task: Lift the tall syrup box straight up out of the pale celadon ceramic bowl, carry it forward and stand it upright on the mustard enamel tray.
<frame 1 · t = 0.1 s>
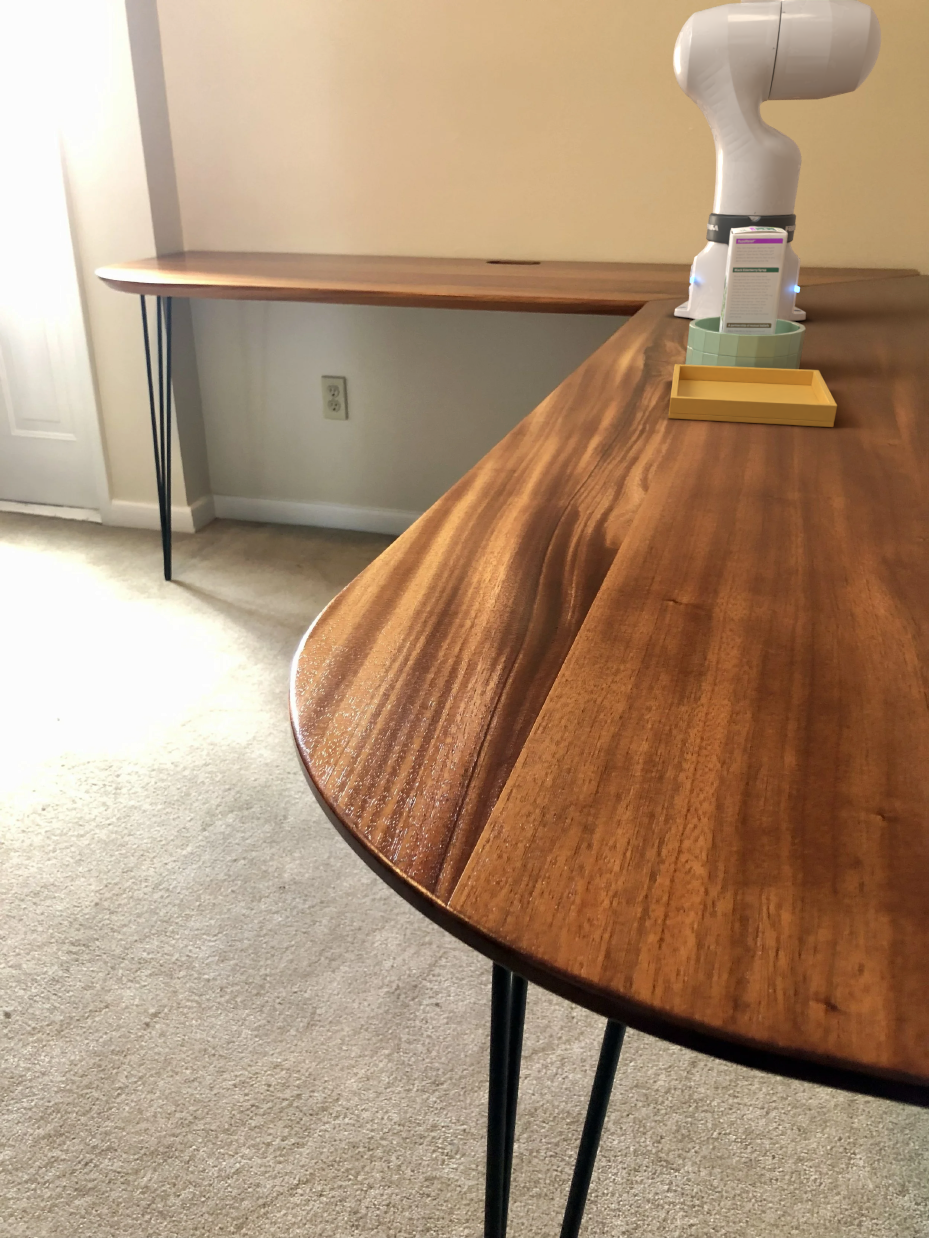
bowl: (740, 370, 101), on the table
tray: (745, 403, 88), on the table
syrup box: (740, 368, 101), resting on bowl
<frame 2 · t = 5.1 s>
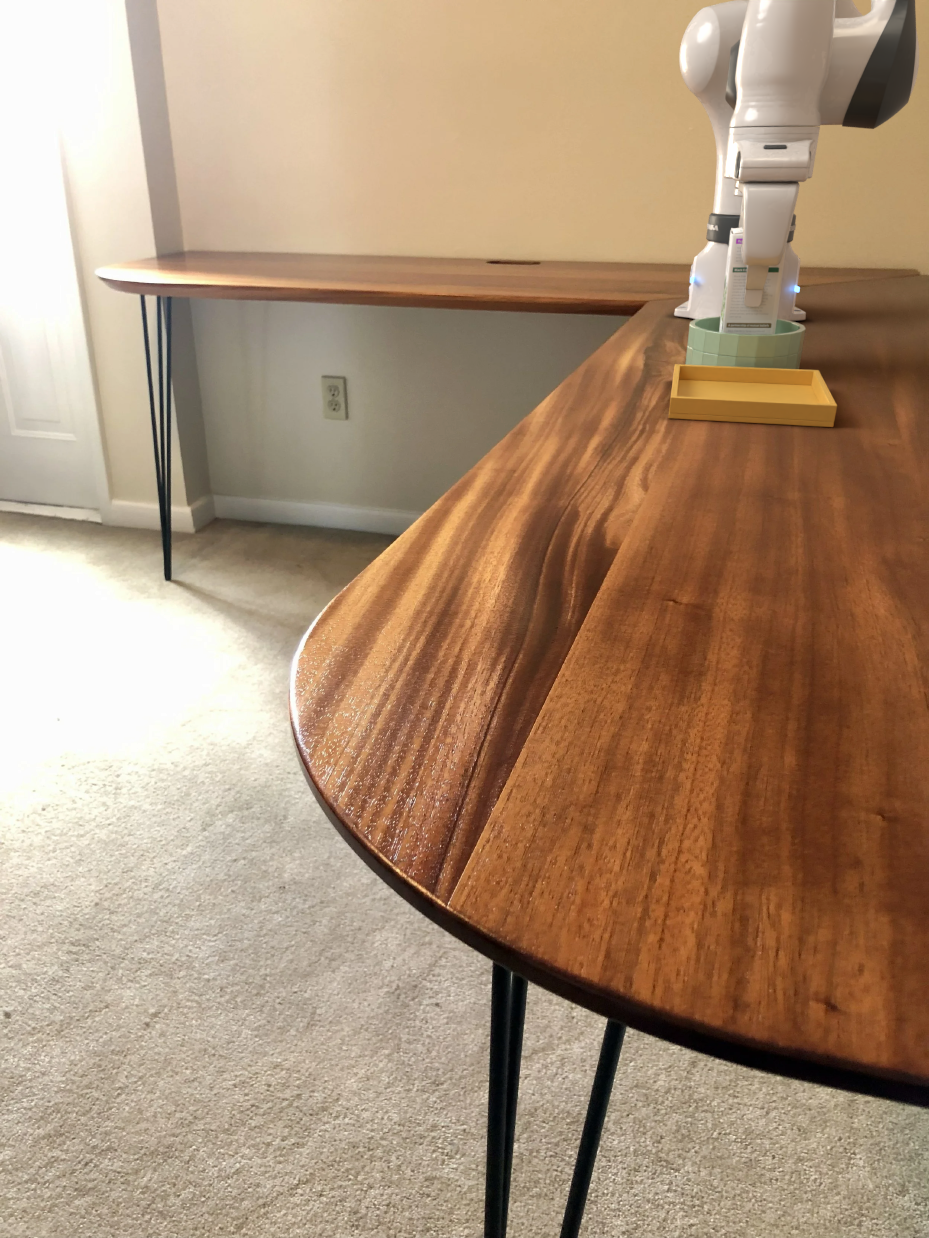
hand: (750, 301, 97), 8 cm above the table, tool pointing down, fingers closed on syrup box, 6 cm apart
syrup box: (740, 368, 101), resting on bowl, touching gripper
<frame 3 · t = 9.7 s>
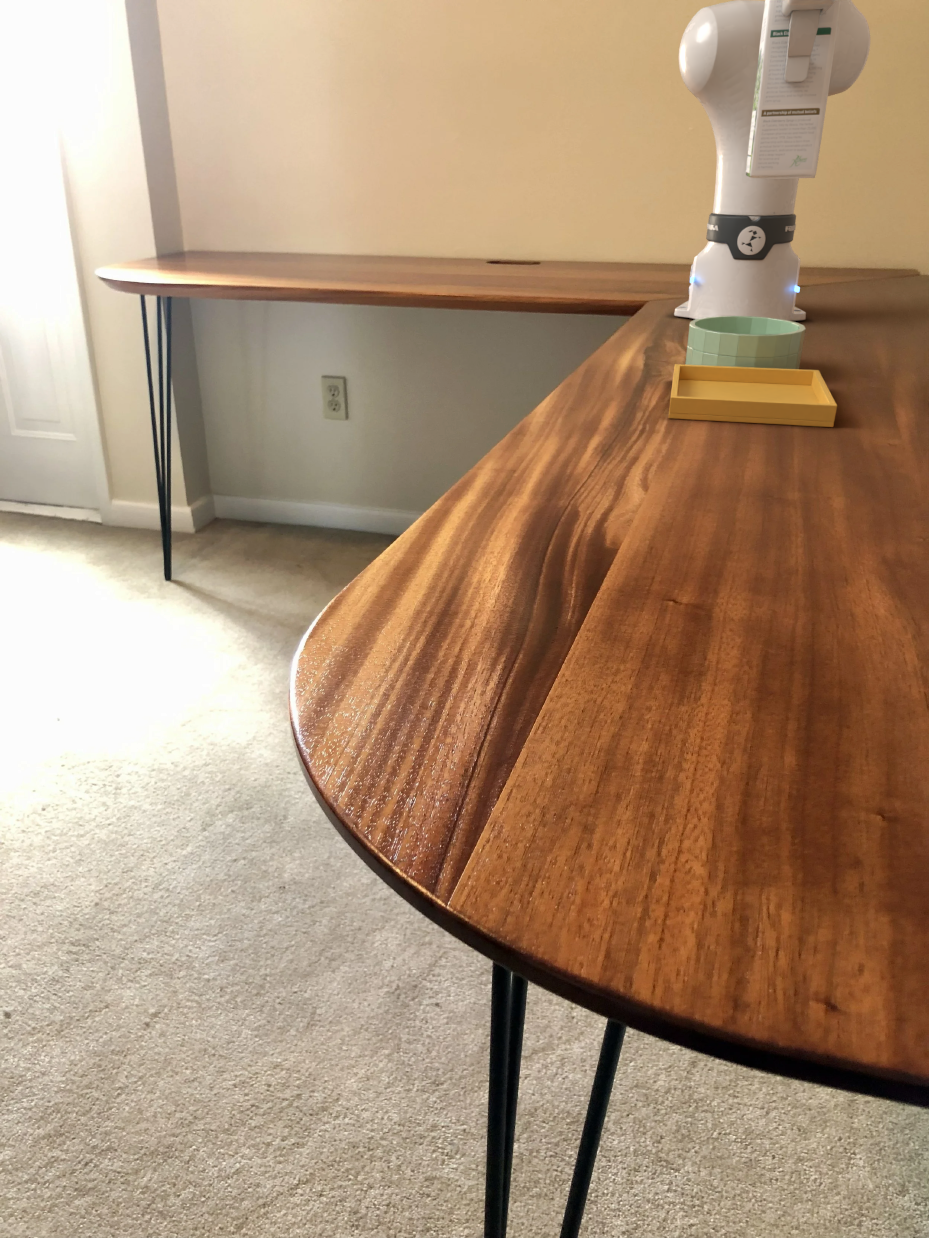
hand: (790, 85, 76), 27 cm above the table, tool pointing down, fingers closed on syrup box, 6 cm apart
syrup box: (777, 180, 79), point 20 cm above the table, touching gripper
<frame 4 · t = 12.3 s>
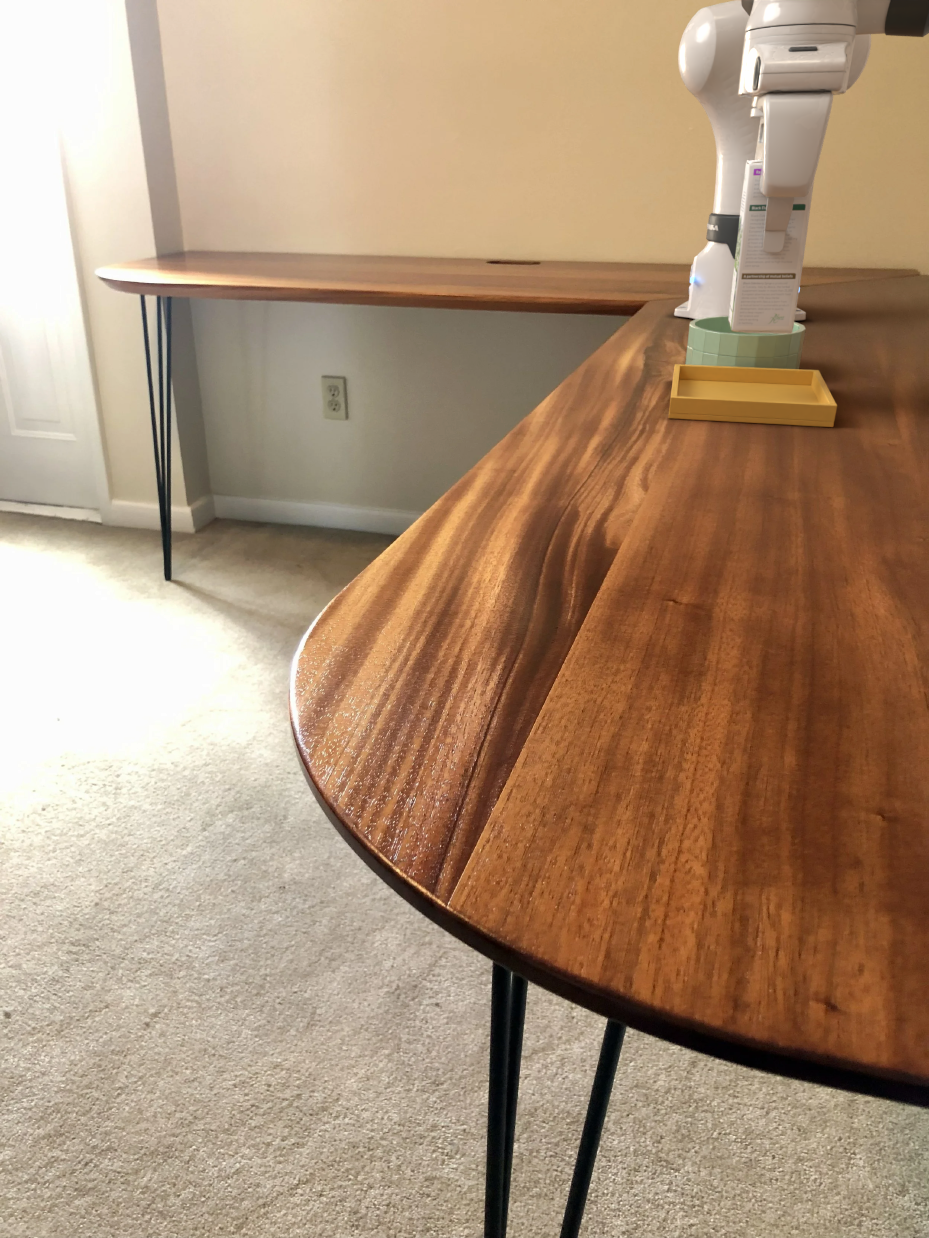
hand: (769, 248, 81), 14 cm above the table, tool pointing down, fingers closed on syrup box, 6 cm apart
syrup box: (757, 330, 85), point 7 cm above the table, touching gripper
when the fingers open (7 cm above the table, at t = 14.4 s): syrup box stays where it is, resting on tray.
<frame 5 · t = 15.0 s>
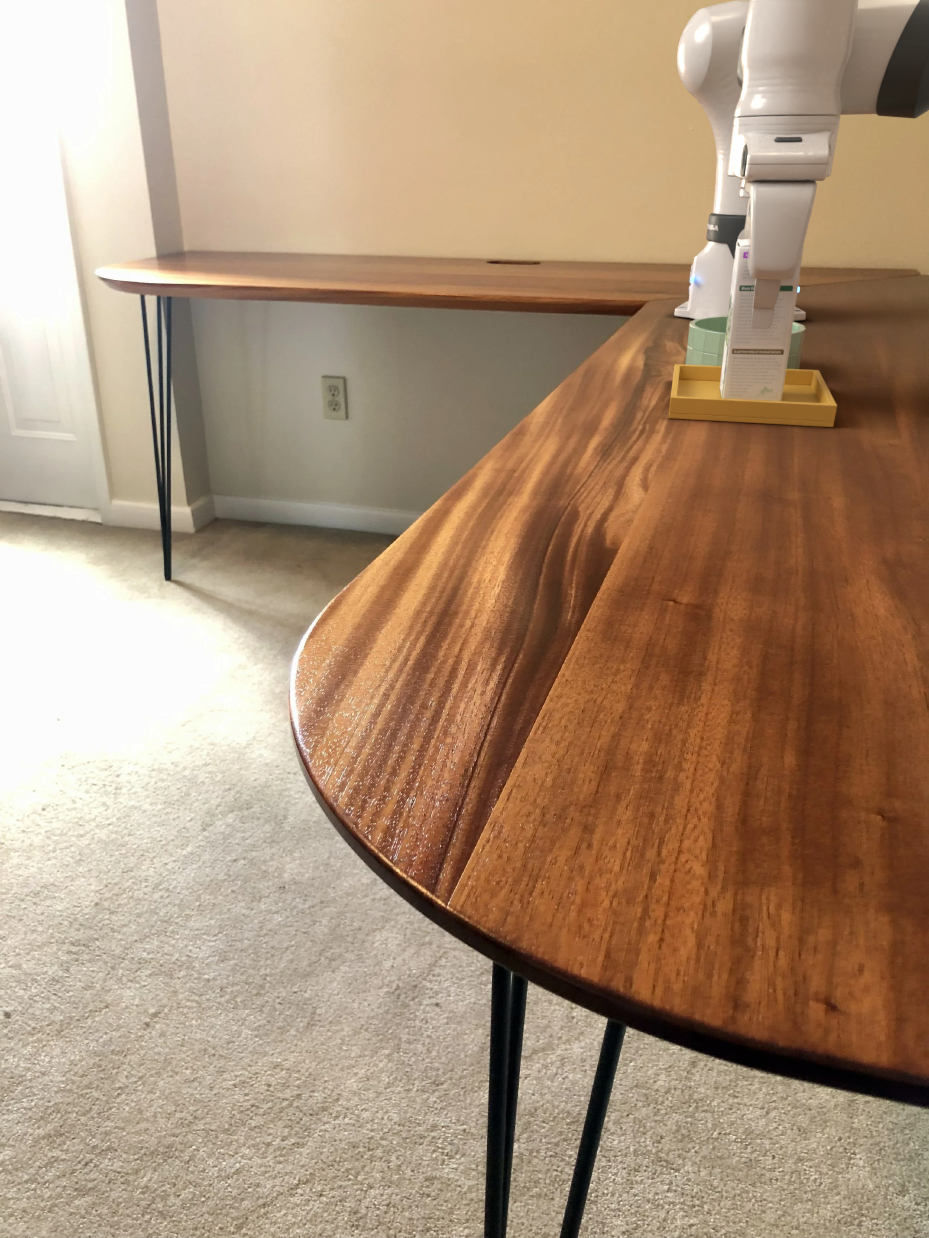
hand: (757, 318, 84), 8 cm above the table, tool pointing down, fingers open, 8 cm apart
syrup box: (747, 399, 88), resting on tray
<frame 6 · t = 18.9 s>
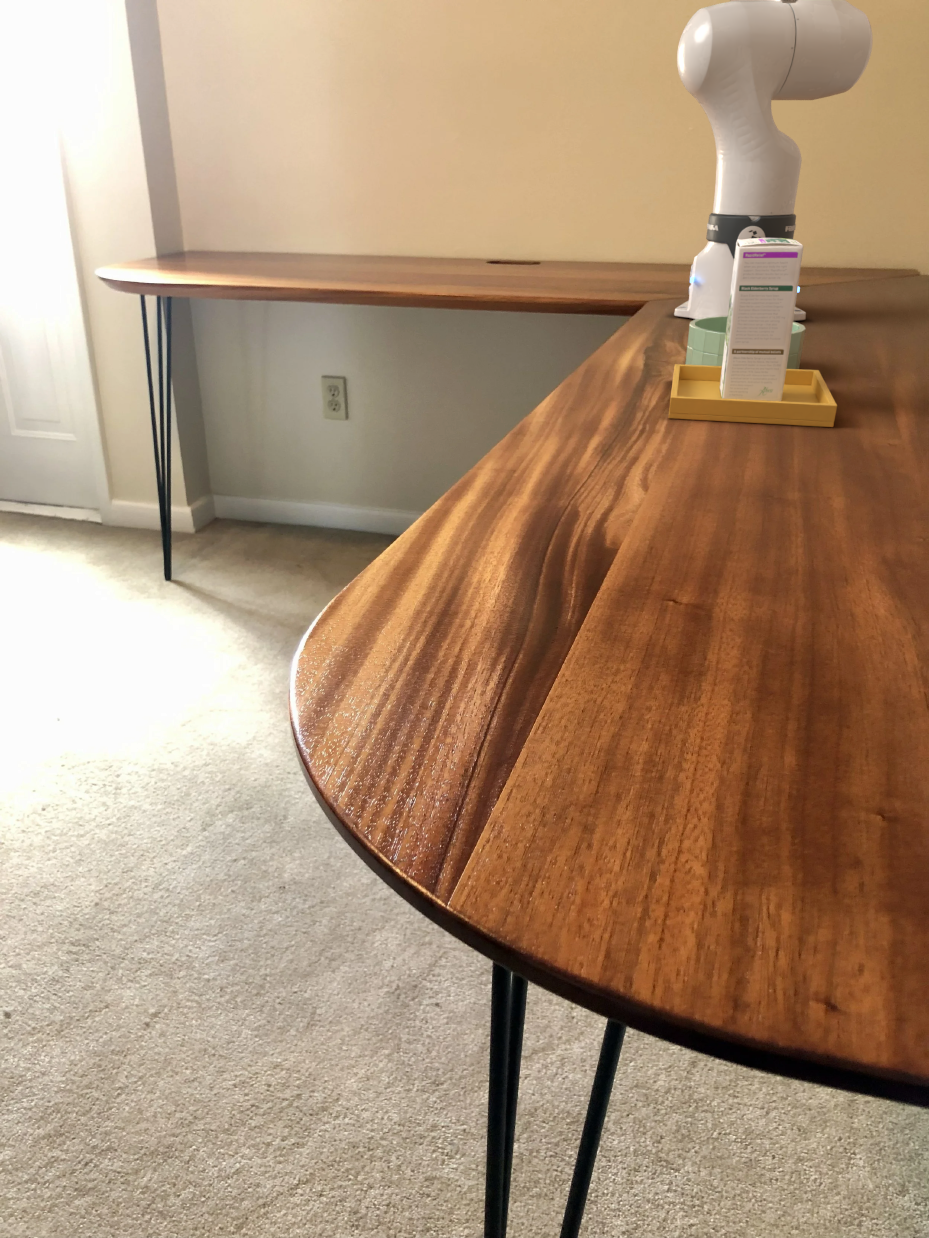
nothing on the table moved.
at the end: syrup box inside the target area in the tray (0.1 cm from its centre), point 0.3 cm above the tray's base; syrup box tilted 0°; syrup box touching tray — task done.
